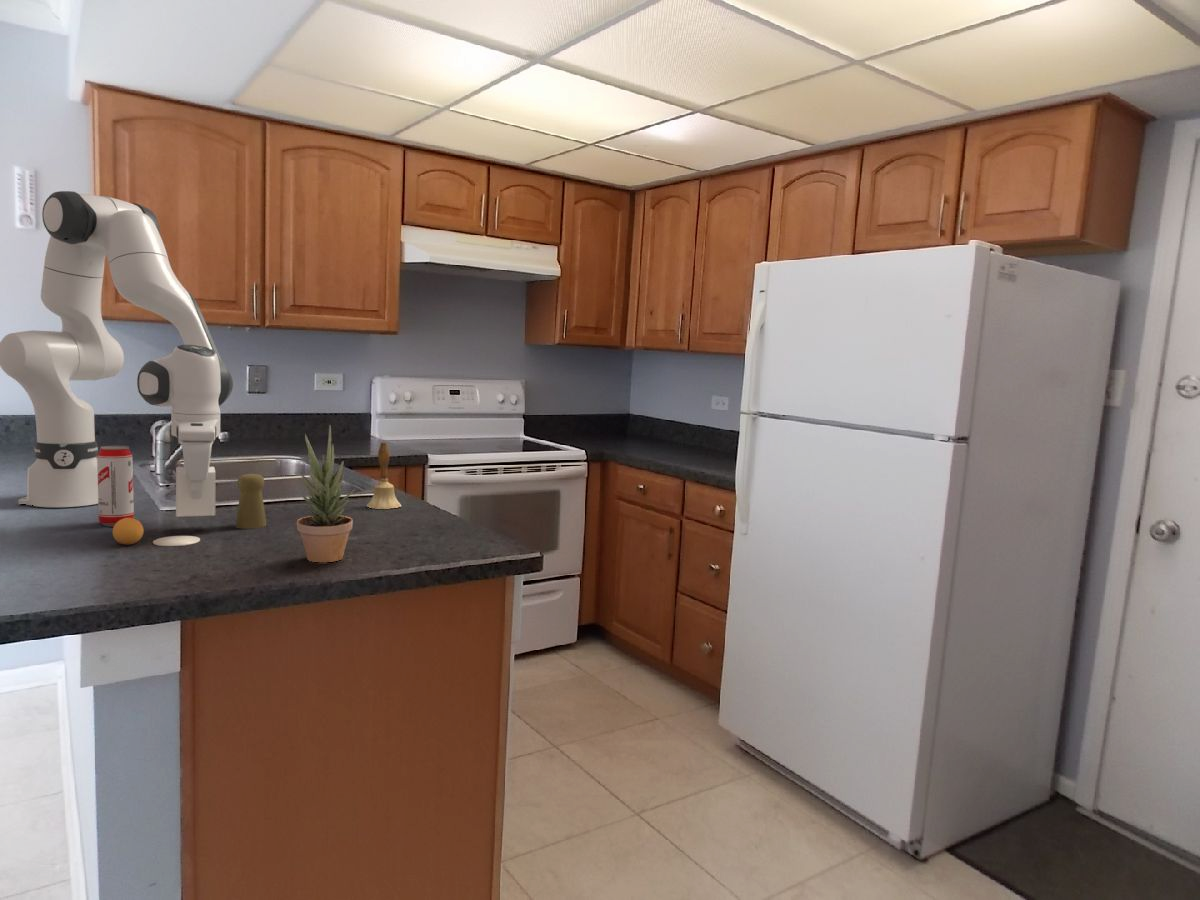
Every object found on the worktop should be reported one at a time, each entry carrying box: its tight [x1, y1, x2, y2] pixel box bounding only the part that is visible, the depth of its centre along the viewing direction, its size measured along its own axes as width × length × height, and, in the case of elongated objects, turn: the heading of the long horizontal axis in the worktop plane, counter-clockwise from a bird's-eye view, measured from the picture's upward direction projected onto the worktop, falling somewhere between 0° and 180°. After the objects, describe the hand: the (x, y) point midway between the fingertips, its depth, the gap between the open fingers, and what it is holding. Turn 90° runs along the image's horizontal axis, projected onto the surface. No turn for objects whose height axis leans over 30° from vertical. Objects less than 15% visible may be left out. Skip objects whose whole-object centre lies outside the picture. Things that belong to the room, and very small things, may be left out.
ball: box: [112, 517, 145, 546], centre depth 151 cm, size 5×5×5 cm
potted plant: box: [296, 424, 356, 563], centre depth 145 cm, size 10×10×25 cm
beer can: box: [96, 445, 135, 527], centre depth 166 cm, size 6×6×16 cm
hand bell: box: [366, 441, 402, 509], centre depth 197 cm, size 8×8×16 cm
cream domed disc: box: [152, 535, 201, 547], centre depth 155 cm, size 8×8×1 cm
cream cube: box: [175, 466, 217, 518], centre depth 164 cm, size 7×7×9 cm
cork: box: [235, 473, 267, 530], centre depth 170 cm, size 6×6×11 cm
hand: (195, 494), depth 164 cm, fingers closed on cream cube, 7 cm apart
